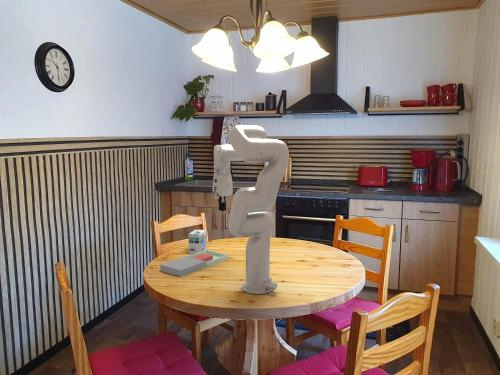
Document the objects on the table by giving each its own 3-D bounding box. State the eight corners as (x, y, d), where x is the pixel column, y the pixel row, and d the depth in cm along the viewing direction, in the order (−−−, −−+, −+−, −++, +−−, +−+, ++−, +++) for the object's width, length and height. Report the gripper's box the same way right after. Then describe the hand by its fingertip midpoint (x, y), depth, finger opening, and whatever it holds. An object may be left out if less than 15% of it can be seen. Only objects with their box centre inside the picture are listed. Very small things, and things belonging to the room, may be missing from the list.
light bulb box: (200, 254, 200) (200, 234, 199) (188, 254, 201) (188, 233, 200) (207, 249, 210) (207, 229, 209) (195, 248, 212) (195, 229, 211)
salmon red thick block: (212, 260, 190) (212, 255, 189) (200, 264, 182) (200, 259, 182) (203, 258, 193) (203, 253, 193) (191, 262, 186) (190, 257, 186)
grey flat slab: (205, 267, 180) (205, 261, 180) (180, 277, 167) (180, 270, 167) (185, 262, 188) (185, 256, 187) (160, 271, 175) (160, 264, 174)
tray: (228, 258, 193) (228, 254, 193) (206, 267, 180) (206, 262, 180) (206, 253, 202) (206, 249, 201) (184, 261, 189) (184, 257, 188)
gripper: (218, 172, 172) (218, 213, 174) (238, 171, 185) (238, 209, 187) (205, 172, 176) (206, 212, 178) (225, 170, 189) (225, 207, 191)
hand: (222, 210), depth 183 cm, fingers closed
